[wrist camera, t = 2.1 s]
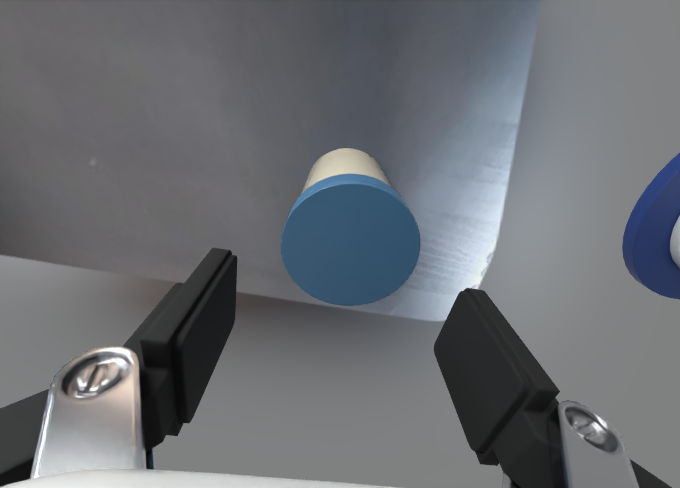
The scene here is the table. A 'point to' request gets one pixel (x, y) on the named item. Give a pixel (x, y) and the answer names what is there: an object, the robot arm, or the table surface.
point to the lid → (350, 240)
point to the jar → (345, 166)
